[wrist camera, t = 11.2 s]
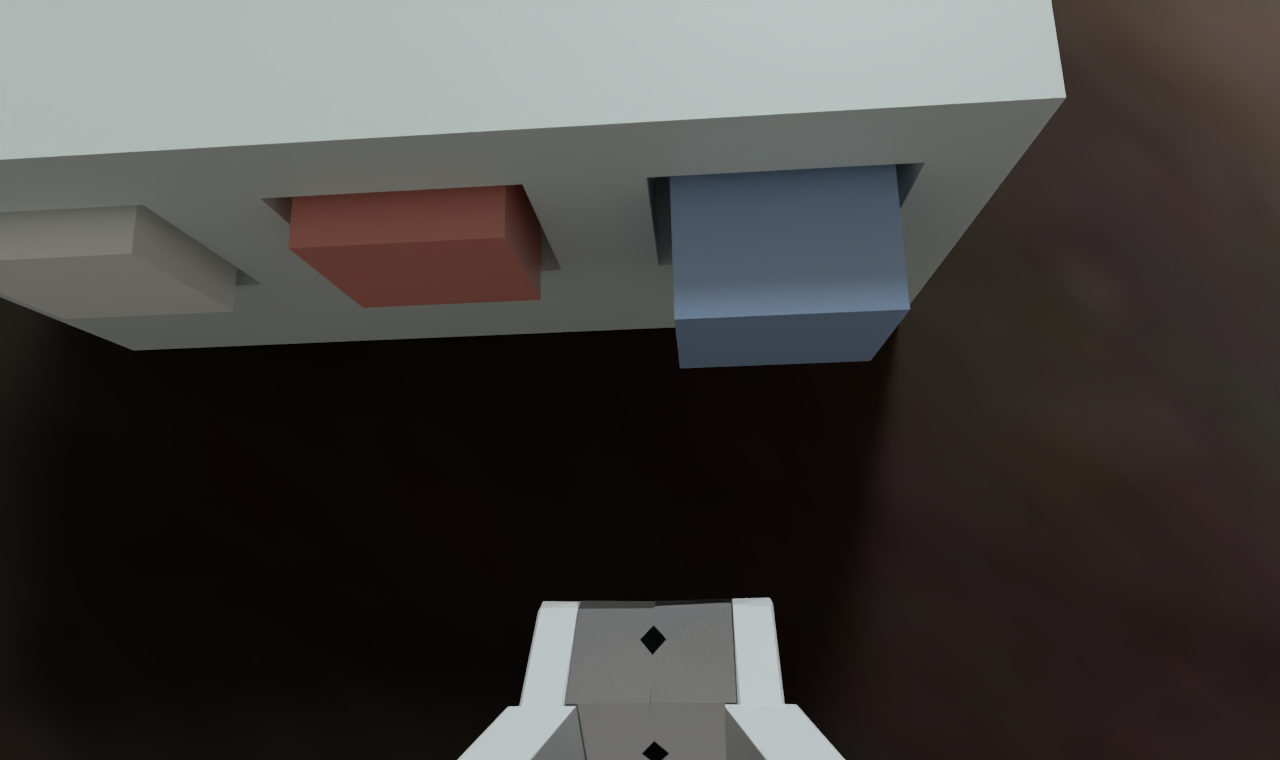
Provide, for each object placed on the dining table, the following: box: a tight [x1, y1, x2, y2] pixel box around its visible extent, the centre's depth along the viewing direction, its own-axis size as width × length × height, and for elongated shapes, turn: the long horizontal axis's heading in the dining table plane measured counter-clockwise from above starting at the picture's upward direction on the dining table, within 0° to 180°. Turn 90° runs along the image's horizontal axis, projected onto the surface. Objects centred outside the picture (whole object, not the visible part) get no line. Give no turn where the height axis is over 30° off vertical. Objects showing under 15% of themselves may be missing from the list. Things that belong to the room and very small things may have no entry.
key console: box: [0, 0, 1066, 350], centre depth 20 cm, size 22×10×11 cm, turn 91°
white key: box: [0, 205, 237, 319], centre depth 18 cm, size 4×3×4 cm
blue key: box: [670, 164, 910, 368], centre depth 17 cm, size 4×3×4 cm
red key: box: [289, 184, 541, 308], centre depth 17 cm, size 4×3×4 cm
